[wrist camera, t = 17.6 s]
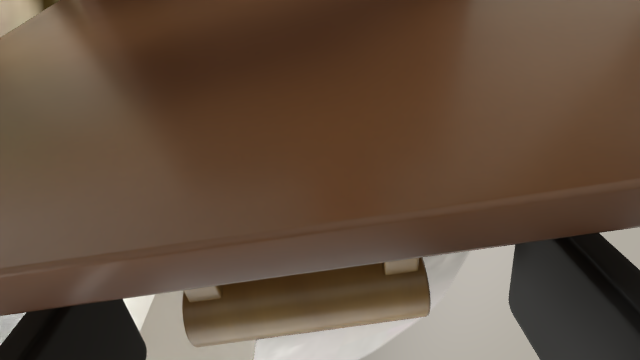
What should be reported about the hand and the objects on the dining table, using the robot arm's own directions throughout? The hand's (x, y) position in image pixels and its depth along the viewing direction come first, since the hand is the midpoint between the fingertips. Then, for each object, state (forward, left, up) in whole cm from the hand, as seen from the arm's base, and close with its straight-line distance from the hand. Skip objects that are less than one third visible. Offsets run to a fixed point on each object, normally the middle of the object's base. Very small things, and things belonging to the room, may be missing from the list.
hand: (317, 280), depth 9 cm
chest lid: (-3, +4, -4) cm, 7 cm away
